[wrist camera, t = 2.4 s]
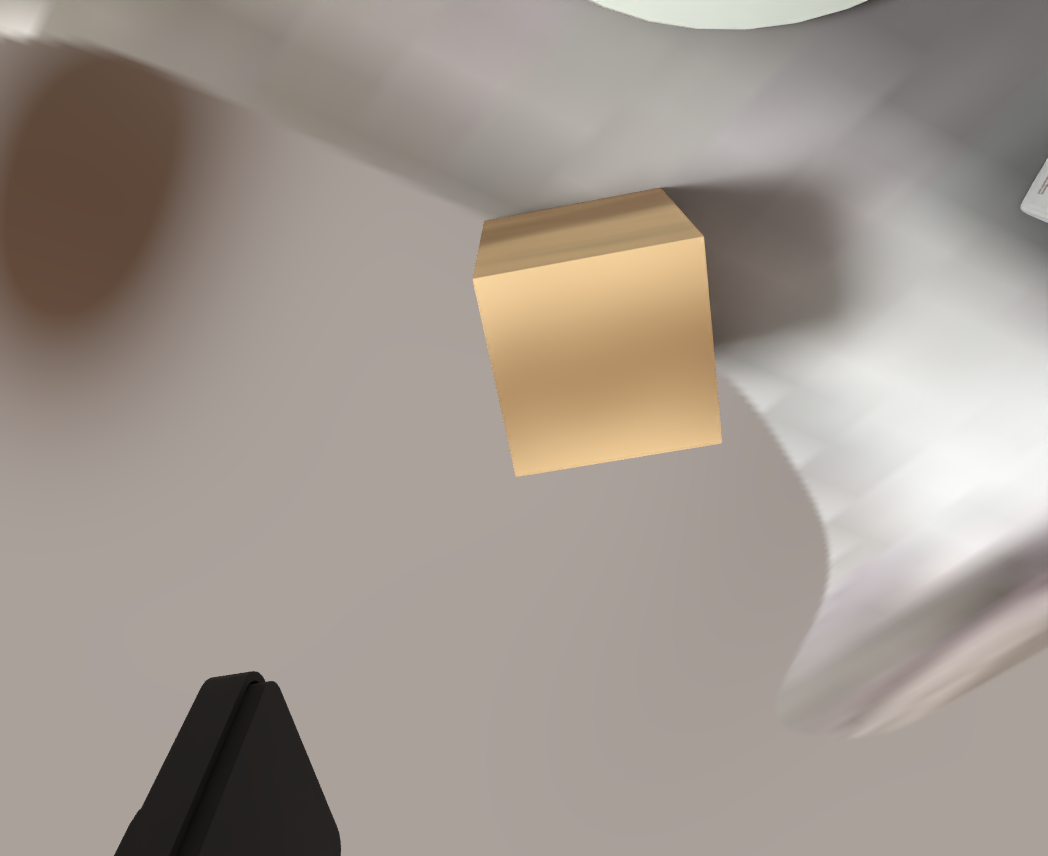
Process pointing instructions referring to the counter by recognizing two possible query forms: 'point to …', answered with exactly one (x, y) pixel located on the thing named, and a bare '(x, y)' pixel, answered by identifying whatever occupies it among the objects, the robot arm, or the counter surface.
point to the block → (599, 331)
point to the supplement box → (1038, 196)
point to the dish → (725, 11)
